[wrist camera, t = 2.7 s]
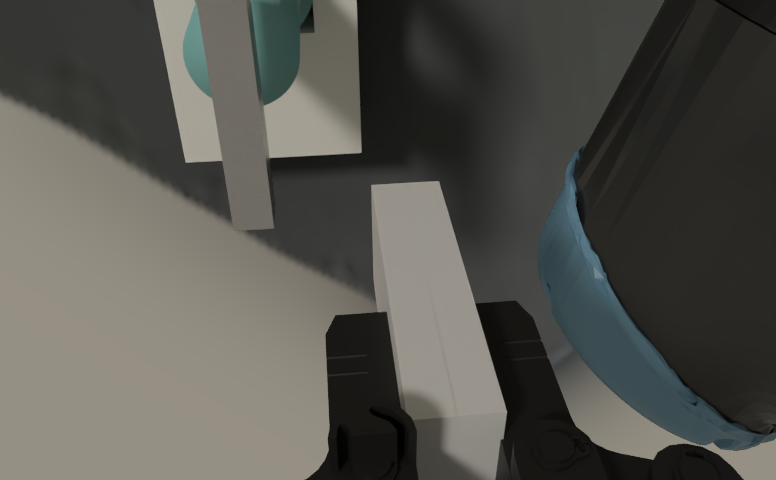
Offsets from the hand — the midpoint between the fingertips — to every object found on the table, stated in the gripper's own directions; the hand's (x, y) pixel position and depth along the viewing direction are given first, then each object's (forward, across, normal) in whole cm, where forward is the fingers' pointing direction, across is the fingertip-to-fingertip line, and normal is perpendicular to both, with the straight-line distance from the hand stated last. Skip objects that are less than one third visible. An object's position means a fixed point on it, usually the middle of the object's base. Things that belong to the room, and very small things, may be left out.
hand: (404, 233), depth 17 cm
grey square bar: (+9, +4, -2) cm, 10 cm away
